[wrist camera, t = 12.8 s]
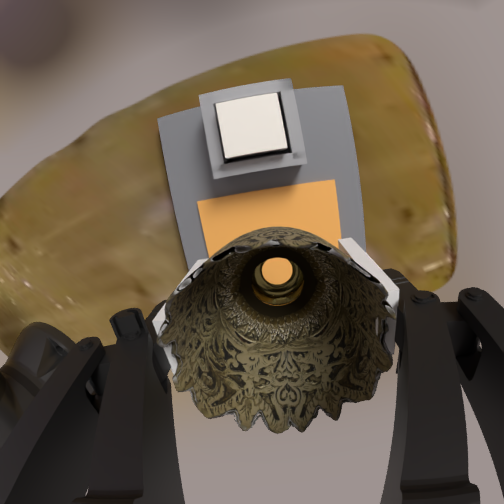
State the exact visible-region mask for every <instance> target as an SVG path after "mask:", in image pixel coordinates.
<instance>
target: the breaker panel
mask: <svg viewBox="0 0 504 504" xmlns="http://www.w3.org/2000/svg"><path fill="white" fill-rule="evenodd" d="M270 93H277V96H278V101H279V106H280V111H281V116H282V121H283V126H284V131H285V137H286V142H287V149H286V150H285V151H278V152H272V153H265V154H259V155H253V156H248V157H242V158H237V159H228V158H225V153H224V148H223V142H222V137H221V131H220V126H219V120H218V115H217V109H216V104H217V103H221V102H226V101H230V100H235V99H241V98H246V97H252V96H257V95H263V94H270ZM199 100H200V107H196V108H192V109H189V110H185V111H181V112H178V113H174V114H171V115H167V116H164V117H161V118H158V126H159V132H160V138H161V143H162V149H163V155H164V160H165V165H166V171H167V176H168V181H169V186H170V191H171V196H172V200H173V205H174V210H175V214H176V219H177V223H178V227H179V232H180V236H181V240H182V244H183V249H184V253H185V257H186V261H187V265H188V268H189V271H190V269H191V268H192V267H193V266H194V264H195V263H196V262H197V260H201V259H208V258H210V257H211V256H212V255H214V254H215V253H216V252H217V251H219V250H220V249H221V248H222V247H224V246H225V245H227V244H228V243H229V242H231V241H232V240H234V239H236V238H238V237H239V236H241V235H243V234H246V233H248V232H251V231H254V230H257V229H261V228H267V227H291V228H296V229H301V230H304V231H307V232H310V233H312V234H314V235H317V236H319V237H321V238H322V239H324V240H326V241H327V242H329V243H331V244H332V245H334V246H335V247H336V248H338V239H345V238H352V239H353V240H354V241H355V242H356V243H357V244H358V245H359V246H360V247H361V248H362V249H363V250H364V251H365V252H366V244H365V228H364V216H363V205H362V195H361V187H360V178H359V171H358V163H357V157H356V150H355V144H354V138H353V132H352V127H351V121H350V116H349V111H348V106H347V101H346V97H345V92H344V88H343V86H326V87H313V88H303V89H294V90H293V85H292V81H291V78H289V79H281V80H274V81H267V82H260V83H254V84H249V85H243V86H238V87H233V88H228V89H223V90H219V91H214V92H210V93H206V94H202V95H199ZM338 249H339V248H338ZM262 274H263V276H264V278H265V279H266V280H267V281H268V282H269V283H272V284H283V283H285V282H286V281H288V280H289V279H290V277H291V275H292V266H291V263H290V262H289V261H288V260H287V259H284V258H272V259H268V260H267V261H266V262H265V263H264V265H263V267H262Z"/></svg>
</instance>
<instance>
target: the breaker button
mask: <svg viewBox="0 0 504 504" xmlns="http://www.w3.org/2000/svg"><path fill="white" fill-rule="evenodd" d="M216 109H217V115H218V120H219V126H220V131H221V137H222V142H223V148H224V153H225V158H228V159H237V158H242V157H248V156H253V155H259V154H265V153H272V152H278V151H285V150H286V149H287V142H286V137H285V131H284V126H283V121H282V116H281V111H280V106H279V101H278V96H277V93H270V94H263V95H257V96H252V97H246V98H241V99H235V100H230V101H226V102H221V103H217V104H216Z"/></svg>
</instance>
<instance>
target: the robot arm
mask: <svg viewBox="0 0 504 504" xmlns="http://www.w3.org/2000/svg"><path fill="white" fill-rule="evenodd" d="M338 248H339V250H341V251H342V252H343V253H345V254H346V255H347V256H349V257H350V258H352V260H354V261H355V262H356V263H358V264H359V265H360V266H361V267H363V268H364V269H365V270H366V271H368V272H369V273H370V274H372V275H373V276H374V277H376V278H377V279H378V280H379V281H380V282H381V283H382V284H383V286H384V287H385V288H386V290H387V292H388V294H389V296H388V298H387V300H386V301H387V302H388V303H389V304H390V305H391V307H392V308H393V310H394V312H395V315H396V321H395V320H393V319H392V318H390V317H389V318H388V317H387V323H388V327H389V331H388V332H387V333H386V336H385V342H386V345H387V347H388V350H389V351H390V352H391V354H394V349H395V342H396V343H397V345H398V347H399V356H398V362H397V369H396V373H397V374H398V381H397V398H396V411H395V421H394V431H393V438H392V445H391V452H390V459H389V465H388V471H387V475H386V481H385V485H384V490H383V494H382V498H381V503H380V504H480V491H479V489H478V487H477V485H475V484H472V483H470V481H469V478H468V446H467V432H466V421H465V411H464V404H463V397H462V390H461V385H462V387H463V389H464V392H465V394H466V396H467V398H468V400H469V402H470V404H471V407H472V409H473V411H474V413H475V416H476V418H477V420H478V423H479V425H480V428H481V430H482V433H483V435H484V438H485V440H486V443H487V446H488V449H489V451H490V454H491V457H492V460H493V463H494V466H495V469H496V472H497V476H498V479H499V482H500V486H501V490H502V493H503V497H504V308H503V307H502V306H501V305H500V304H499V303H498V302H497V301H496V300H494V298H493V297H492V296H490V295H489V294H488V293H487V292H486V291H484V290H481V289H479V288H475V287H471V288H466V289H463V290H461V291H460V292H459V296H458V302H440V299H439V297H438V296H437V295H436V294H434V293H432V292H429V291H421V290H419V291H418V290H417V289H416V288H415V287H414V286H413V285H412V284H411V283H410V282H409V281H408V280H407V279H406V278H405V277H404V276H403V275H402V274H401V273H400V272H399V271H396V270H394V269H385V270H382V269H381V268H380V267H379V266H378V265H377V264H376V263H375V262H374V261H373V260H372V259H371V258H370V257H369V255H368V254H367V253H366V252H365V251H364V250H363V249H362V248H361V247H360V246H359V245H358V244H357V243H356V242H355V241H354V240H353V239H352V238H345V239H338ZM208 259H209V258H208ZM208 259H201V260H197V262H196V263H195V264H194V266H193V267H192V268H191V269H190V271H189V272H188V273H187V275H186V276H185V277H184V279H183V280H182V281H181V283H182V282H183V281H184V280H185V279H186V278H187V277H188V276H189V275H190V274H191V273H193V272H194V271H195V270H196V269H197V268H198V267H200V266H201V265H202V263H204V262H205V261H207V260H208ZM181 283H180V284H181ZM180 284H179V285H180ZM179 285H178V286H179ZM166 301H167V300H164V301H162V302H161V303H159V304H158V305H157V306H156V307H155V308H154V309H153V311H152V312H151V313H150V314H149V316H148V317H147V318H146V320H144V317H143V314H142V311H141V310H140V309H138V308H130V309H125V310H122V311H120V312H118V313H116V314H115V315H113V316H112V317H111V318H110V320H109V321H110V323H111V325H112V328H113V330H114V333H115V335H116V337H117V341H116V344H114V345H109V346H104V347H103V345H102V343H101V341H100V339H99V338H98V337H87V338H84V339H82V340H81V341H79V342H78V343H77V344H75V343H74V342H73V341H72V340H71V339H70V338H69V337H68V336H66V335H65V334H64V333H62V332H61V331H59V330H58V329H56V328H55V327H53V326H51V325H48V324H46V323H42V322H33V323H31V324H29V325H28V326H27V327H26V328H24V329H23V331H22V332H21V333H20V335H19V337H18V339H17V341H16V343H15V345H14V347H13V349H12V351H11V353H10V355H9V357H8V359H7V362H6V363H5V364H4V365H3V366H2V367H1V368H0V504H185V501H184V495H183V489H182V483H181V477H180V470H179V463H178V456H177V447H176V438H175V429H174V419H173V408H172V394H171V383H170V380H169V379H168V376H167V375H168V372H169V370H170V368H171V369H172V372H173V375H174V374H175V373H176V369H177V361H176V359H175V358H174V357H172V355H171V348H172V345H170V346H169V345H168V347H165V348H164V347H161V346H159V345H158V344H157V336H158V333H159V330H160V327H161V325H162V324H163V322H164V321H165V310H164V309H165V304H166ZM382 328H383V320H382ZM376 334H378V318H377V319H376ZM381 338H382V334H381ZM381 338H380V342H381ZM480 342H481V345H482V349H481V347H480V346H479V345H480ZM170 343H171V342H170ZM460 383H461V384H460ZM88 486H89V487H88ZM87 489H88V493H87V495H86V496H85V494H86V492H87Z"/></svg>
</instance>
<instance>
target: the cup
mask: <svg viewBox="0 0 504 504" xmlns="http://www.w3.org/2000/svg"><path fill="white" fill-rule="evenodd" d="M272 258H284V259H287V260H288V261H289V262H290V263H291V266H292V275H291V277H290V279H289V280H288V281H286V282H285V283H283V284H272V283H269V282H268V281H267V280H266V279H265V278H264V276H263V274H262V267H263V265H264V263H265V262H266V261H267V260H268V259H272ZM388 296H389V294H388V292H387V290H386V288H385V287H384V286H383V284H382V283H381V282H380V281H379V280H378V279H377V278H376V277H374V276H373V275H372V274H370V273H369V272H368V271H366V270H365V269H364V268H363V267H361V266H360V265H359V264H358V263H356V262H355V261H354V260H352V258H350V257H349V256H347V255H346V254H345V253H343V252H342V251H341V250H339V249H338V248H336V247H335V246H334V245H332V244H331V243H329V242H327V241H326V240H324V239H322V238H321V237H319V236H317V235H314V234H312V233H310V232H307V231H304V230H301V229H296V228H291V227H267V228H261V229H257V230H254V231H251V232H248V233H246V234H243V235H241V236H239V237H238V238H236V239H234V240H232V241H231V242H229V243H228V244H227V245H225V246H224V247H222V248H221V249H220V250H219V251H217V252H216V253H215V254H214V255H212V256H211V257H210V258H209V259H208V260H207V261H205V262H204V263H202V265H201V266H200V267H198V268H197V269H196V270H195V271H194V272H193V273H191V274H190V275H189V276H188V277H187V278H186V279H185V280H184V281H183V282H182V283H181V284H180V285H179V286H178V287H177V288H176V289H175V290H174V291H173V293H172V294H171V295H170V296H169V298H168V299H167V301H166V304H165V309H164V310H165V321H164V322H163V324H162V325H161V327H160V330H159V333H158V336H157V344H158V345H159V346H161V347H164V348H165V347H168V345H169V346H170V345H172V348H171V355H172V357H174V358H175V359H176V361H177V369H176V373H175V374H174V376H173V382H174V385H175V388H176V390H177V391H178V392H184V391H189V390H190V393H191V397H192V400H193V402H194V404H195V405H196V407H197V408H198V409H199V410H200V412H201V413H202V414H203V415H204V416H205V417H206V418H208V419H212V418H217V417H221V416H224V415H228V414H231V415H232V414H234V413H235V415H236V420H235V421H236V422H237V424H238V426H239V427H240V428H241V429H242V430H243V431H248V430H249V429H250V428H252V426H253V425H254V424H255V421H256V420H257V419H258V418H259V417H262V420H263V422H264V424H265V425H266V427H267V428H268V430H270V431H272V432H274V433H277V434H278V433H282V432H283V431H285V430H288V429H289V427H290V426H291V425H292V426H293V427H295V428H296V429H297V430H298V431H300V432H304V431H305V430H306V428H307V427H308V426H309V425H310V423H311V422H312V420H313V419H314V418H316V417H317V415H318V410H319V409H322V411H324V412H325V413H326V415H327V416H329V417H331V418H332V419H333V420H335V421H336V420H338V419H339V417H340V413H341V409H342V404H343V403H345V402H354V403H357V402H360V401H365V400H370V399H371V398H372V397H373V396H374V394H375V391H376V388H377V384H378V380H379V379H380V375H381V373H383V372H387V371H388V370H389V369H390V368H391V366H392V365H393V359H392V354H391V352H390V351H389V350H388V347H387V345H386V342H385V336H386V333H387V332H388V331H389V327H388V323H387V317H388V318H389V317H390V318H392V319H393V320H395V321H396V315H395V312H394V310H393V308H392V307H391V305H390V304H389V303H388V302H387V301H386V300H387V298H388ZM377 318H378V334H376V319H377ZM382 320H383V328H382ZM381 334H382V338H381ZM380 338H381V342H380ZM170 342H171V343H170ZM258 414H261V415H259V416H257V415H258ZM235 415H234V416H235ZM256 417H257V418H256ZM255 418H256V419H255ZM254 419H255V420H254Z"/></svg>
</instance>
